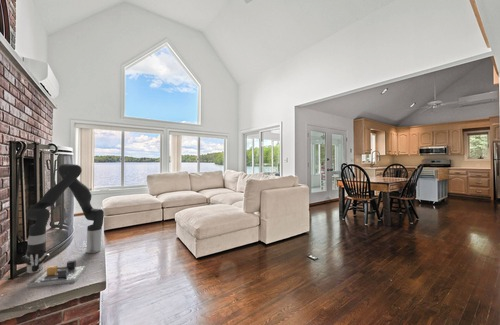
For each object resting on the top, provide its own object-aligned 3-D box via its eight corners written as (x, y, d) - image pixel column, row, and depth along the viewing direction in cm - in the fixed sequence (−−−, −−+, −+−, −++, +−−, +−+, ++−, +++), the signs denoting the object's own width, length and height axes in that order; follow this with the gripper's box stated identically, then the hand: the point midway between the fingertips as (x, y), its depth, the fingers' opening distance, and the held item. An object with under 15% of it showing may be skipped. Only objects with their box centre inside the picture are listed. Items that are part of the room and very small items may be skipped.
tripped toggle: (48, 273, 130) (49, 265, 130) (57, 272, 131) (57, 264, 131) (46, 275, 128) (47, 267, 128) (54, 274, 129) (55, 266, 129)
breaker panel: (44, 272, 135) (44, 262, 135) (85, 268, 142) (86, 258, 142) (27, 287, 120) (27, 275, 119) (74, 282, 127) (75, 270, 127)
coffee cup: (46, 269, 139) (48, 246, 139) (27, 275, 131) (28, 251, 131) (41, 265, 143) (42, 243, 143) (22, 271, 135) (23, 247, 135)
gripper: (54, 238, 133) (52, 266, 132) (26, 240, 128) (25, 269, 128) (47, 243, 125) (45, 273, 125) (18, 245, 121) (16, 275, 121)
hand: (35, 271), depth 127 cm, fingers closed
